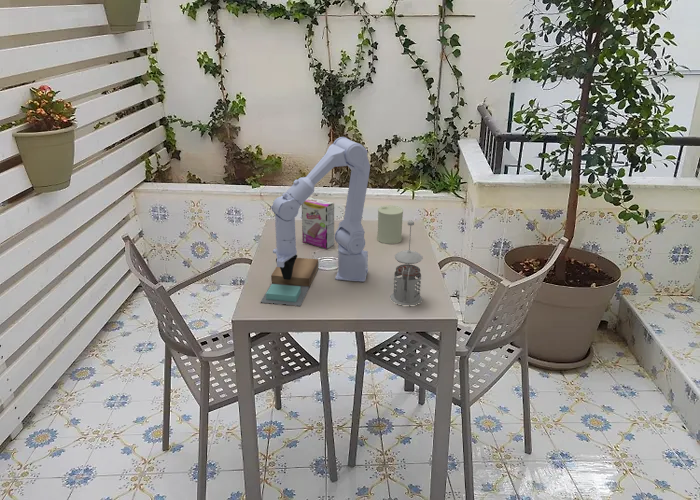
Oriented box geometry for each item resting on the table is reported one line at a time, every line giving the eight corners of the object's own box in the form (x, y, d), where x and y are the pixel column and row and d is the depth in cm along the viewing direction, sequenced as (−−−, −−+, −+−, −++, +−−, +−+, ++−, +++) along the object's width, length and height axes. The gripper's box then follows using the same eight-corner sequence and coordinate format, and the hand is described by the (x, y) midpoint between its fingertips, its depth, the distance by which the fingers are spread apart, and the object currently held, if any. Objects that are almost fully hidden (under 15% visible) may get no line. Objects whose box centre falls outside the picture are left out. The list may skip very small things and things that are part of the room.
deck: (318, 267, 188) (318, 259, 187) (309, 287, 176) (309, 278, 175) (283, 264, 190) (282, 256, 189) (271, 284, 177) (271, 275, 176)
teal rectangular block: (295, 296, 166) (296, 302, 167) (300, 286, 171) (300, 292, 172) (266, 293, 167) (266, 299, 168) (271, 284, 173) (272, 289, 173)
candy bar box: (301, 242, 207) (300, 200, 200) (309, 238, 211) (308, 196, 204) (327, 249, 201) (326, 206, 195) (335, 245, 205) (334, 202, 199)
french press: (424, 292, 173) (430, 216, 163) (420, 311, 163) (425, 231, 153) (392, 289, 175) (396, 212, 165) (386, 307, 165) (389, 227, 154)
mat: (309, 287, 176) (309, 286, 176) (300, 306, 165) (300, 305, 165) (271, 284, 177) (271, 283, 177) (260, 302, 167) (260, 302, 166)
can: (385, 232, 217) (386, 202, 212) (406, 238, 212) (408, 207, 207) (372, 240, 210) (372, 209, 205) (393, 246, 205) (394, 214, 200)
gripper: (279, 227, 174) (280, 267, 179) (265, 246, 161) (267, 288, 166) (301, 228, 173) (302, 268, 178) (289, 247, 160) (291, 290, 165)
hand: (287, 278), depth 172 cm, fingers closed
